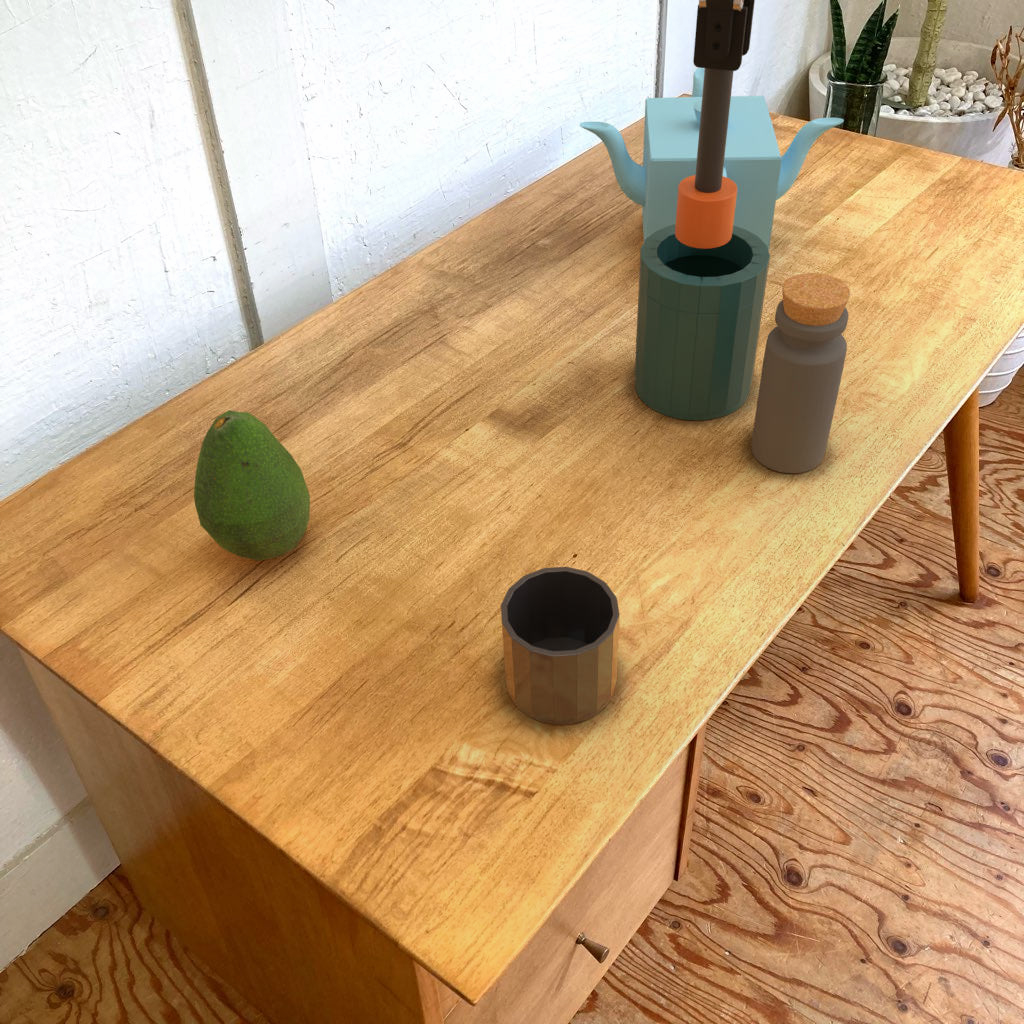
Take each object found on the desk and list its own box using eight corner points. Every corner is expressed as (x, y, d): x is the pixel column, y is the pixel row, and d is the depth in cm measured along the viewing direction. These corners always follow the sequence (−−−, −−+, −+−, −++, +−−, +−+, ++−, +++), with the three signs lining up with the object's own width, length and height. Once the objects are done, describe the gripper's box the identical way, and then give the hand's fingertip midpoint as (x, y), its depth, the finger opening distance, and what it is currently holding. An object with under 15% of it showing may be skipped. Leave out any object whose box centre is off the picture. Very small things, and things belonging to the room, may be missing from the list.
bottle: (801, 484, 82) (833, 321, 72) (736, 454, 85) (758, 293, 74) (838, 446, 85) (873, 284, 75) (774, 418, 88) (800, 259, 78)
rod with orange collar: (736, 225, 83) (767, -36, 70) (725, 252, 80) (755, -14, 67) (682, 217, 84) (702, -40, 71) (668, 244, 81) (687, -19, 68)
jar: (760, 362, 94) (779, 229, 85) (738, 430, 87) (756, 294, 78) (650, 344, 96) (658, 214, 88) (621, 408, 90) (626, 274, 81)
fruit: (281, 496, 83) (248, 373, 75) (340, 545, 79) (312, 421, 71) (194, 546, 80) (150, 423, 72) (251, 601, 75) (211, 476, 67)
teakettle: (709, 312, 100) (724, 165, 90) (571, 243, 110) (571, 104, 100) (829, 240, 109) (855, 99, 98) (691, 182, 119) (702, 49, 109)
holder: (628, 652, 71) (632, 581, 66) (597, 737, 66) (599, 668, 61) (527, 626, 73) (524, 556, 68) (490, 708, 68) (483, 638, 63)
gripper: (797, -242, 54) (753, 112, 66) (838, -289, 64) (794, 24, 77) (653, -245, 56) (638, 100, 68) (716, -289, 66) (693, 16, 79)
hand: (721, 58), depth 73 cm, fingers closed on rod with orange collar, 2 cm apart
